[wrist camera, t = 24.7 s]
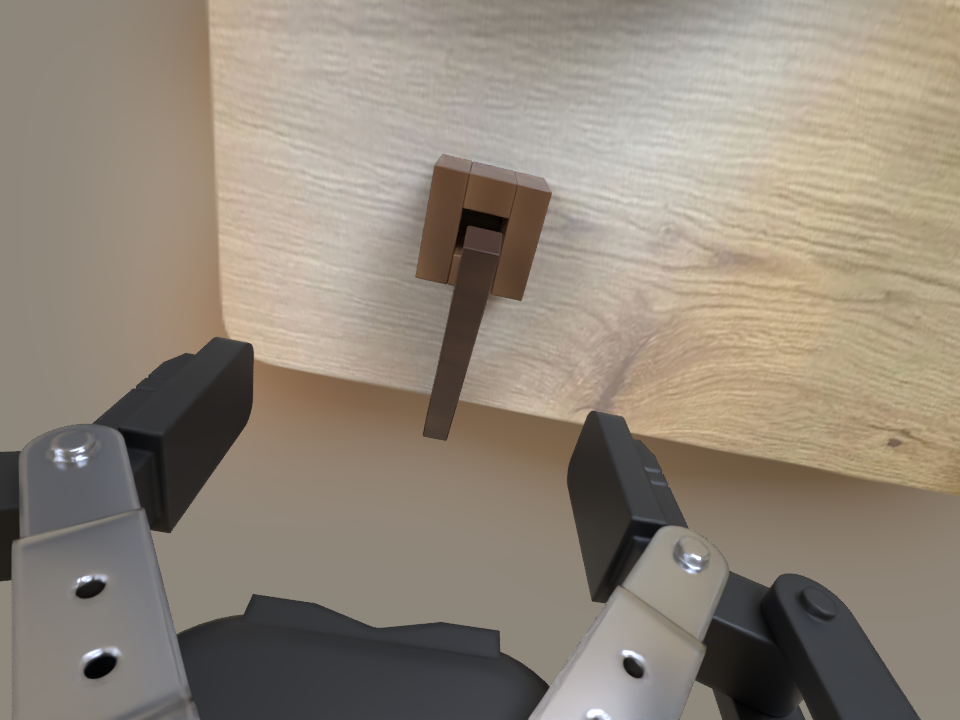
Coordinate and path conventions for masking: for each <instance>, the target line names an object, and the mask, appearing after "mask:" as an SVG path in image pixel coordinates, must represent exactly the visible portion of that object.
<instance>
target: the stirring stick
mask: <svg viewBox="0 0 960 720" xmlns="http://www.w3.org/2000/svg"><path fill="white" fill-rule="evenodd" d="M502 236H503V235H502V233H500V232H495V231H491V230H487V229H482V228H478V227H473V226H468V227H467V230H466V234H465V239H464V244H463V249H462V253H461V258H460V263H459V267H458V272H457V277H456V281H455V286H454V291H453V295H452V300H451V305H450V309H449V314H448V319H447V323H446V328H445V333H444V337H443V342H442V347H441V351H440V356H439V361H438V365H437V370H436V375H435V379H434V384H433V389H432V393H431V398H430V403H429V408H428V412H427V417H426V422H425V427H424V432H423V436H424V437H429V438H434V439H439V440H447V437H448V434H449V430H450V427H451V423H452V420H453V416H454V413H455V409H456V406H457V403H458V399H459V396H460V392H461V389H462V385H463V382H464V378H465V375H466V372H467V368H468V365H469V361H470V358H471V354H472V351H473V347H474V344H475V341H476V337H477V334H478V330H479V327H480V323H481V320H482V316H483V313H484V310H485V306H486V303H487V299H488V296H489V292H490V289H491V285H492V282H493V279H494V275H495V272H496V268H497V265H498V261H499V258H500V252H501V244H502Z"/></svg>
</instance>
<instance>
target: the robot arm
mask: <svg viewBox="0 0 960 720" xmlns="http://www.w3.org/2000/svg"><path fill="white" fill-rule="evenodd" d="M253 364H254V351H253V346H252V344H250V343H246V342H241V341H236V340H231V339H225V338H221V337H215V338H213V339H212V340H211V341H210V342H209V343H208V344H207V345H205V346H204V347H203V348H202V349H201V350H200V351H199V352H198V353H197V354H196V355H194V354H188V353H185V354H183V355H180V356H178V357H175V358H173V359H171V360H168V361H165V362H163V363H162V364H161V365H160V366H159V367H158V368H156V369H155V370H154V371H153V372H152V373H151V374H149V377H148V378H145V379H144V380H142V381H141V382H140V383H139V384H138V385H137V386H136V389H132V390H131V391H130V392H129V393H127V394H126V395H125V396H124V397H123V398H122V399H120V400H119V401H118V402H117V403H116V404H115V405H113V406H112V407H111V408H110V409H109V410H108V411H106V412H105V413H104V414H103V415H102V416H101V417H100V418H98V419H97V420H96V421H95V422H94V423H92V424H77V425H70V426H65V427H61V428H57V429H54V430H51V431H48V432H46V433H44V434H42V435H40V436H38V437H36V438H34V439H33V440H31V441H30V442H29V443H28V444H27V445H26V446H25V447H24V448H23V449H22V451H16V452H0V581H8V580H12V720H680V717H681V715H682V712H683V710H684V707H685V705H686V702H687V699H688V697H689V694H690V691H691V689H692V686H693V684H694V681H695V680H696V681H698V682H700V683H702V684H704V685H706V686H708V687H710V688H712V689H713V692H714V695H715V698H716V701H717V704H718V708H719V710H720V714H721V716H722V720H805V718H804V716H803V714H802V711H801V709H800V707H799V704H800V703H801V701H802V700H803V699H804V701H805V703H806V705H807V707H808V709H809V712H810V714H811V716H812V718H813V720H920V718H919V716H918V715H917V713H916V712H915V710H914V709H913V707H912V706H911V704H910V703H909V701H908V699H907V698H906V696H905V695H904V693H903V692H902V691H901V689H900V687H899V685H898V684H897V682H896V681H895V679H894V678H893V676H892V675H891V673H890V672H889V670H888V668H887V667H886V665H885V664H884V662H883V661H882V659H881V658H880V656H879V654H878V653H877V651H876V650H875V648H874V647H873V645H872V644H871V642H870V640H869V639H868V637H867V636H866V634H865V633H864V631H863V630H862V628H861V627H860V625H859V623H858V622H857V620H856V619H855V617H854V616H853V614H852V613H851V612H850V610H849V609H848V608H847V606H846V605H845V604H844V603H843V602H842V601H841V600H840V599H839V598H838V597H837V596H836V595H835V594H833V593H832V592H831V591H830V590H828V589H827V588H825V587H824V586H822V585H821V584H819V583H817V582H815V581H813V580H811V579H809V578H807V577H804V576H801V575H798V574H783V575H780V576H779V577H778V578H777V579H776V581H775V582H774V583H773V585H772V586H771V587H770V588H768V587H766V586H764V585H761V584H759V583H756V582H754V581H752V580H749V579H747V578H745V577H742V576H740V575H738V574H735V573H733V572H731V571H729V567H728V564H727V561H726V559H725V557H724V556H723V555H722V553H721V552H720V550H719V549H718V548H717V547H716V546H715V545H714V544H713V543H712V542H710V541H709V540H708V539H707V538H705V537H704V536H702V535H700V534H699V533H697V532H695V531H693V530H690V529H689V528H688V526H687V524H686V522H685V519H684V517H683V515H682V513H681V511H680V509H679V507H678V504H677V502H676V500H675V498H674V496H673V494H672V491H671V489H670V488H669V487H668V483H667V481H666V479H665V477H664V474H662V470H661V468H660V466H659V464H658V462H657V459H656V457H655V455H654V454H653V453H652V452H651V451H650V450H649V449H648V448H647V447H646V446H645V445H644V444H643V443H642V442H641V441H640V440H635V439H633V438H632V436H631V433H630V431H629V429H628V426H627V424H626V422H625V419H624V418H623V417H622V416H617V415H612V414H607V413H602V412H597V411H591V412H590V413H589V414H588V416H587V418H586V420H585V423H584V426H583V428H582V431H581V434H580V436H579V439H578V442H577V444H576V447H575V450H574V452H573V454H572V457H571V460H570V463H569V467H568V474H567V485H568V490H569V495H570V500H571V505H572V509H573V514H574V519H575V524H576V528H577V533H578V538H579V543H580V547H581V552H582V557H583V561H584V566H585V570H586V576H587V580H588V585H589V590H590V595H591V599H592V601H593V602H600V603H606V604H605V605H604V607H603V608H602V610H601V611H600V613H599V615H598V616H597V617H596V619H595V620H594V622H593V623H592V625H591V626H590V628H589V629H588V631H587V632H586V634H585V635H584V637H583V638H582V640H581V641H580V643H579V644H578V646H577V648H576V649H575V650H574V652H573V653H572V655H571V656H570V658H569V659H568V661H567V662H566V664H565V665H564V667H563V668H562V670H561V671H560V673H559V674H558V676H557V677H556V679H555V680H554V682H553V683H552V685H551V686H550V687H549V686H548V684H547V683H546V682H545V681H544V680H543V679H541V678H540V677H539V676H538V675H537V674H536V673H535V672H533V671H532V670H531V669H529V668H528V667H526V666H525V665H524V664H522V663H521V662H519V661H517V660H515V659H514V658H512V657H510V656H509V655H506V654H504V653H502V652H500V631H497V630H491V629H484V628H477V627H470V626H463V625H457V624H450V623H444V622H437V623H427V624H417V625H408V626H398V627H397V626H396V627H387V628H376V627H372V626H369V625H366V624H364V623H362V622H359V621H357V620H354V619H352V618H349V617H347V616H345V615H342V614H339V613H337V612H335V611H333V610H330V609H328V608H325V607H323V606H321V605H318V604H315V603H309V602H303V601H295V600H289V599H282V598H275V597H269V596H262V595H255V594H253V595H252V597H251V600H250V602H249V604H248V606H247V608H246V611H245V613H244V615H235V616H229V617H225V618H220V619H215V620H212V621H209V622H205V623H202V624H199V625H197V626H194V627H192V628H189V629H187V630H184V631H182V632H180V633H178V634H176V632H175V628H174V625H173V620H172V617H171V613H170V608H169V604H168V600H167V596H166V592H165V588H164V584H163V580H162V576H161V572H160V568H159V564H158V560H157V556H156V552H155V548H154V544H153V540H152V536H151V531H150V530H153V531H160V532H166V533H171V531H172V530H173V528H174V527H175V526H176V524H177V522H178V521H179V520H180V518H181V517H182V516H183V514H184V513H185V511H186V510H187V509H188V507H189V506H190V504H191V503H192V501H193V500H194V499H195V497H196V496H197V494H198V493H199V491H200V490H201V489H202V487H203V486H204V484H205V483H206V482H207V480H208V478H209V477H210V476H211V474H212V473H213V472H214V470H215V469H216V467H217V466H218V464H219V463H220V462H221V460H222V459H223V457H224V456H225V454H226V453H227V452H228V450H229V449H230V447H231V446H232V444H233V443H234V442H235V440H236V439H237V437H238V436H239V435H240V433H241V432H242V430H243V429H244V427H245V426H246V424H247V422H248V419H249V416H250V413H251V409H252V403H253Z"/></svg>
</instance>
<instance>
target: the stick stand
mask: <svg viewBox="0 0 960 720" xmlns="http://www.w3.org/2000/svg"><path fill="white" fill-rule="evenodd" d="M551 194H552V192H551V190H550V188H549V187H548V185H547V183H546V181H545V180H544V178H540V177H536V176H532V175H528V174H524V173H519V172H514V171H511V170H507V169H503V168H499V167H494V166H490V165H486V164H482V163H478V162H473V163H472V161H469V160H465V159H461V158H457V157H453V156H448V155H444V154H443V155H442V156H441V157H440V159H439V160H438V161H437V163H436V164H435V166H434V172H433V177H432V183H431V189H430V195H429V200H428V206H427V212H426V218H425V224H424V229H423V235H422V241H421V247H420V253H419V258H418V264H417V270H416V278H420V279H424V280H429V281H433V282H438V283H442V284H447V283H448V285H452V286H455V281H456V277H457V272H458V267H459V263H460V258H461V253H462V249H463V244H464V239H465V235H462V234H458V231H459V226H460V221H461V216H462V212H463V208H464V209H469V210H473V211H477V212H482V213H486V214H490V215H495V216H499V217H503V220H502V224H501V229H500V233H502V235H503V236H502V244H501V252H500V258H499V261H498V265H497V268H496V272H495V275H494V279H493V282H492V285H491V289H490V292H489V293H491V294H492V295H496V296H501V297H506V298H510V299H515V300H519V301H521V300H522V298H523V294H524V291H525V287H526V283H527V280H528V276H529V273H530V269H531V266H532V262H533V258H534V255H535V251H536V248H537V244H538V241H539V237H540V233H541V230H542V226H543V223H544V219H545V216H546V212H547V208H548V205H549V201H550V198H551Z"/></svg>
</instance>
